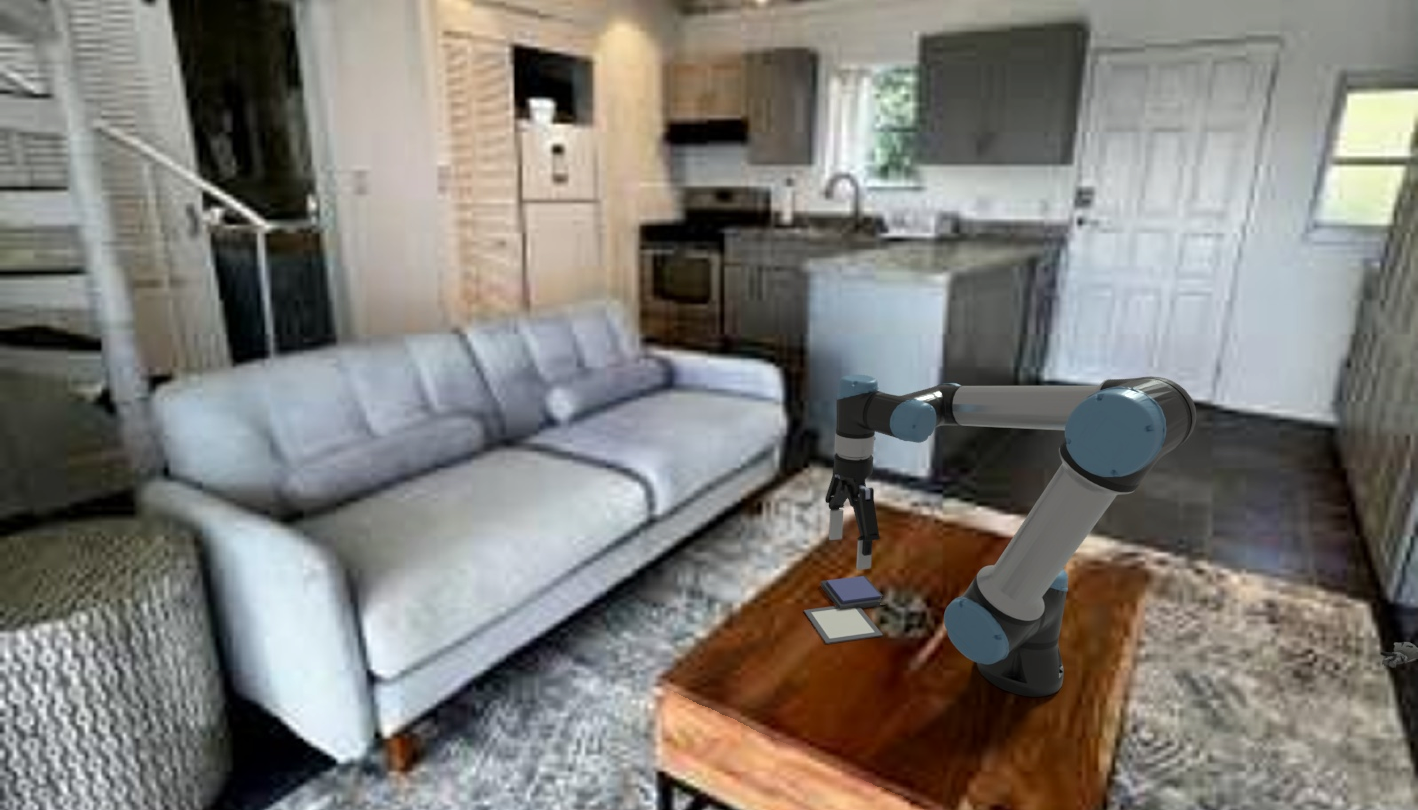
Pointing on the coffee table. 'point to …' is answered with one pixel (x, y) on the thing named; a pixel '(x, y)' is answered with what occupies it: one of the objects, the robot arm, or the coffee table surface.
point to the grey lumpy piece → (1400, 654)
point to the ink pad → (852, 592)
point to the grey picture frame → (842, 624)
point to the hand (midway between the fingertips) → (848, 553)
